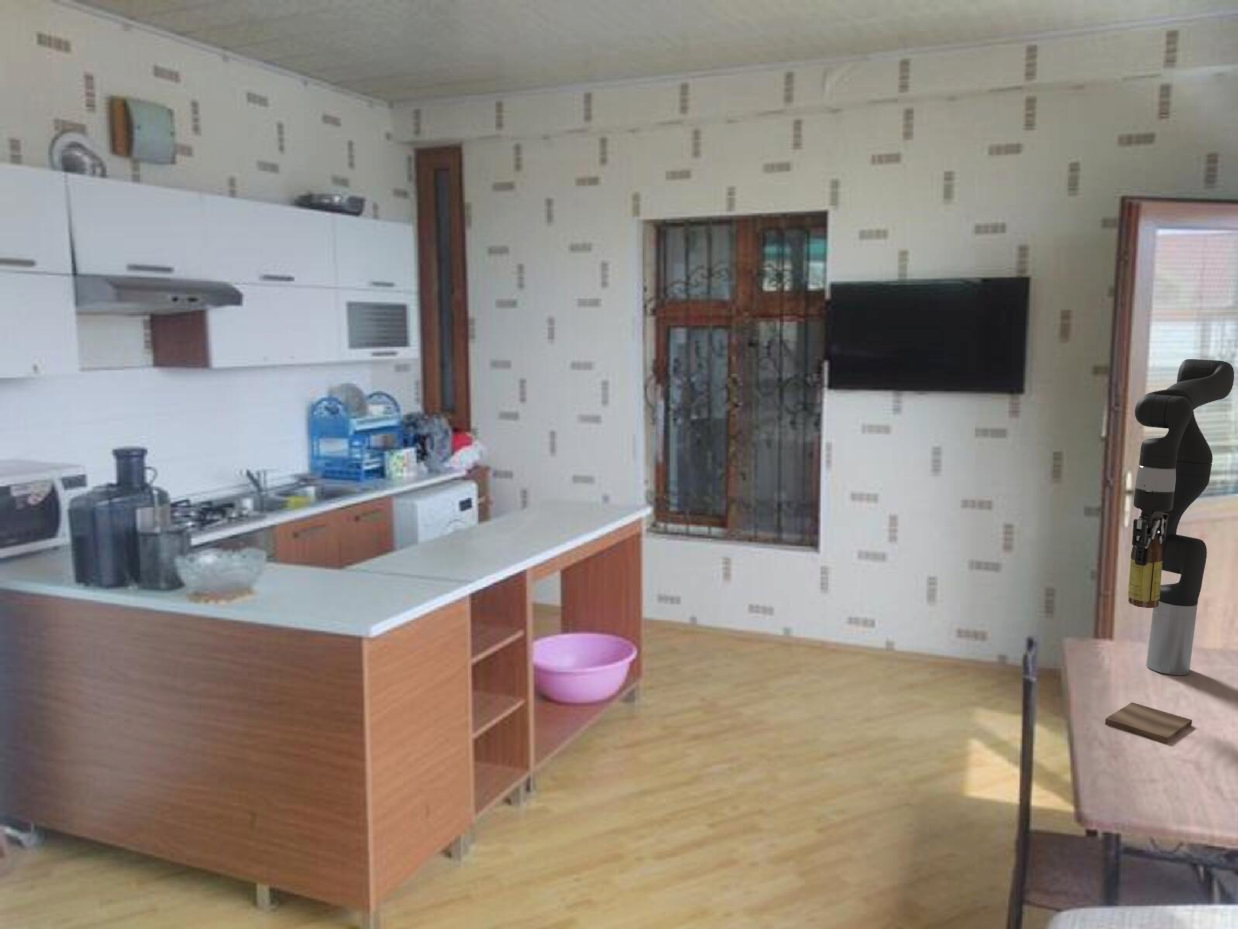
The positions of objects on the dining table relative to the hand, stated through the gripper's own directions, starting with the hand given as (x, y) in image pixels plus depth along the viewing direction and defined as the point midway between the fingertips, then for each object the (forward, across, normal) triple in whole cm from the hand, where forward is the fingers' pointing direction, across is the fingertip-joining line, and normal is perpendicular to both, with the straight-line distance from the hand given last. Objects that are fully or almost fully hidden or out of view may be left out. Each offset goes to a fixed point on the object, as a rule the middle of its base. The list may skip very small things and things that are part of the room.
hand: (1146, 562), depth 214 cm
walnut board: (+32, +12, +8) cm, 35 cm away
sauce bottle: (+10, 0, 0) cm, 10 cm away
